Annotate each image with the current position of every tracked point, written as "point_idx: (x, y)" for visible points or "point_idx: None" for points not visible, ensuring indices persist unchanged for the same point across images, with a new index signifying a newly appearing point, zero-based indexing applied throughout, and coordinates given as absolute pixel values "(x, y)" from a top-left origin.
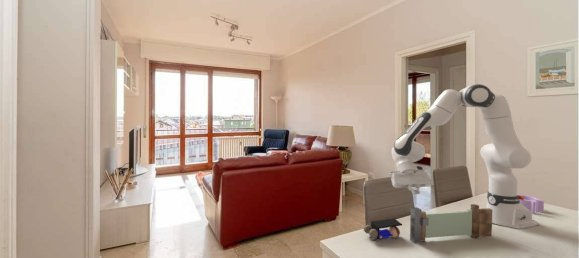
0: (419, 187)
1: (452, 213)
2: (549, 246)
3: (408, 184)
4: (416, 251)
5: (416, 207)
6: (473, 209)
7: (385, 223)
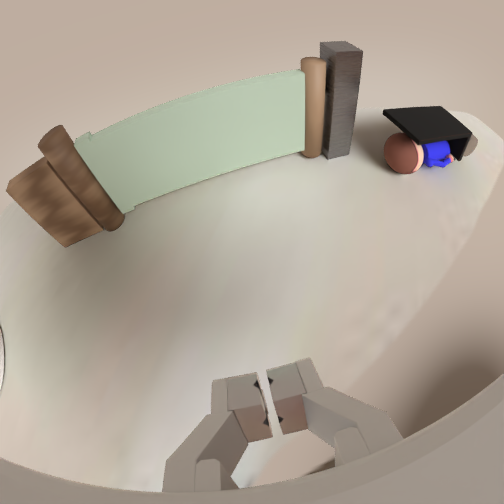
0: (180, 445)
1: (170, 103)
2: (15, 215)
3: (424, 429)
4: None
5: (338, 51)
6: (69, 137)
7: (432, 117)
